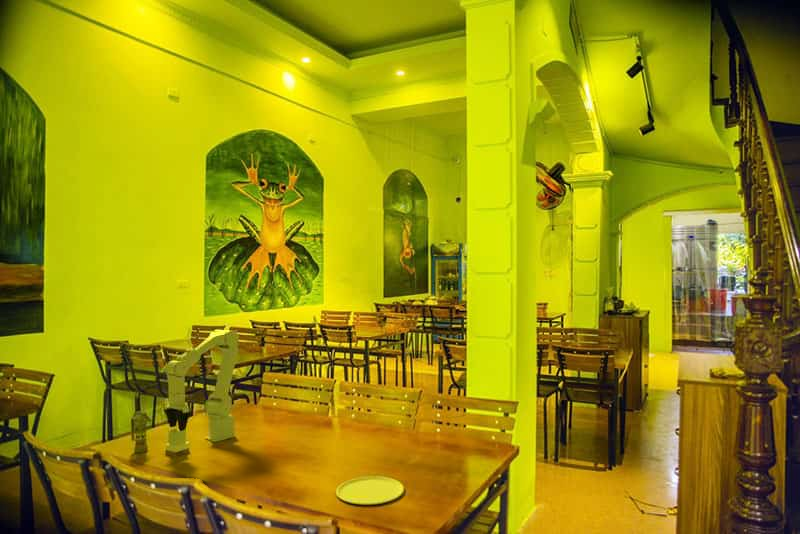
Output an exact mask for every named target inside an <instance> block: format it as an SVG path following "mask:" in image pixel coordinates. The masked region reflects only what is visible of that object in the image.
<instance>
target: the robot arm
mask: <svg viewBox="0 0 800 534" xmlns="http://www.w3.org/2000/svg"><path fill="white" fill-rule="evenodd" d="M239 341H240V335H239V334H238V333H237V331H236V330H233V329H231V330H229V329H219V328H217V329H214V331H213V332H210V334H209V335H208V337H207V338H206V339H204V340H203V341H202V342H201V343H200V344H198V346H196V347H195V348H192V347H191V348H187V349H185V352H184V353H182V354H181V355H180V356H177V357H176V358H175V360H169V361H168V363H167V364H166V365H165V368H164V370H163V371H164V374H165V375H166V376H167V377H166V379H167V380H168V386H167V387H168V401H165V408H164V409H163V412H164V414H165V415H166V418H167V421H168V425H169V427H170V428H175V427H178V428H179V431H183V430H186V429H187V424H188V421H189V418H190V416H191V414H192V410H190V406H188V404H187V403H186V388H185V387H186V383H185V382H186V381H185V379H186V378H185V376H186V375H187V374H188V372H189V369H190V368H191V367H192V366H194V365H195V364H197V362H199V361H200V359H201V356H202V355H203V354H205V353H206V352H207V351H209V350H210V349H212V348H214V347H215V346H216V347H217V348H219V350H220V351H221V352H222V358H221V362H220V367H219V371H218V376H217V379H216V384H215V388H214V391H213V392H212V393H210V394H209V396H208V399H207V401H206V402H205V404H204V412H205V413H206V414H207V417H208V429H209V430H208V431H209V435H208V436H205V438H204V439H205V440H208V441H211V442H213V443H217V442H220V441H224V440H228V439H231V438H235V437H236V434H235V432H236V431H235V418H234V416H233V415H232V414H231V412H232V401H233V399H232V397H231V396H230V395H229V391H230V387H231V382H232V378H233V374H234V370H235V365H236V362H237V356H238V352H239V348H238V346H239Z"/></svg>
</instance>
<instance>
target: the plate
mask: <svg viewBox="0 0 800 534" xmlns="http://www.w3.org/2000/svg"><path fill="white" fill-rule="evenodd" d="M404 492H405V486H404V485H403V484H402V483H401V482H400V481H398V480H396V479H393V478H391V477H386V476H377V475H375V476H372V475H371V476H360V477H356V478H353V479H349V480H346V481H345V482H343V483H341V484H340V485H339V486H338V487H337V488H336V489H335V494H336V495H335V496H336V497H337V498H338V499H339V500H341V501H342V502H345V503H348V504H352V505H356V506H376V505H377V506H378V505H383V504H387V503H390V502H393V501H395V500H397V499H398V498H401V496H402V495H403V494H404Z"/></svg>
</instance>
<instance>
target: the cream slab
mask: <svg viewBox="0 0 800 534" xmlns="http://www.w3.org/2000/svg"><path fill="white" fill-rule="evenodd" d="M190 445H191V444H190V442H189V441H186V443H185V444H182V445H178V446H172V445H170V444H169V443H167V444H165V450H168V451H172V452H179V451H181V450H184V449H187V448H189V449H190V448H191V446H190Z"/></svg>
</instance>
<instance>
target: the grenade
mask: <svg viewBox="0 0 800 534" xmlns="http://www.w3.org/2000/svg"><path fill="white" fill-rule="evenodd" d="M148 422H149V423H151V422H152V419H151V418H150V417H149V416H148V414H147V411H144V410H139V411H136V412H134V413H133V414H132V418H131V420H130V424H131V425H130V426H131V427H130V429H131V431H130V432H131V433H130V434H131V442H135V446H134V447H133V448H134V449H133V450H134V451H133V453H135V452H139V453H138V454H141V453H140V452H143V453H146V452H148V450H149V447H148V446H149V445H148V444H147V423H148ZM145 451H146V452H145Z"/></svg>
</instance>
